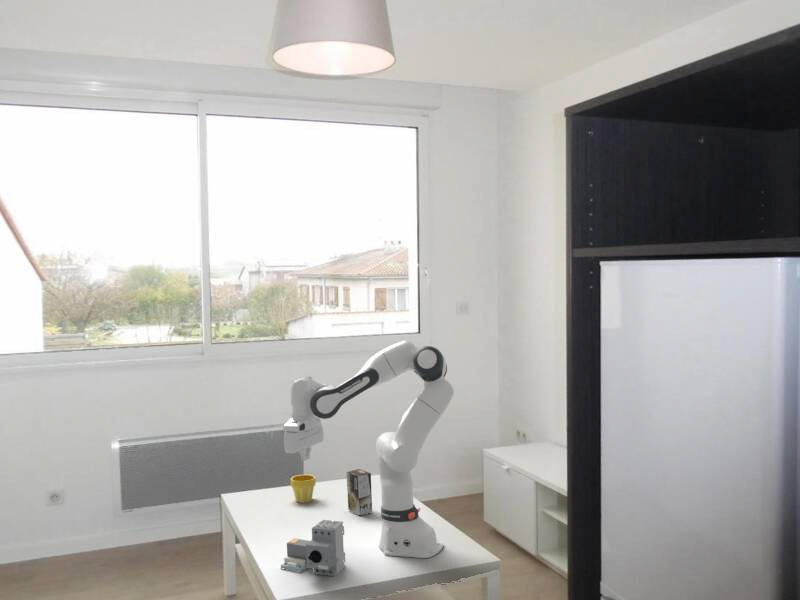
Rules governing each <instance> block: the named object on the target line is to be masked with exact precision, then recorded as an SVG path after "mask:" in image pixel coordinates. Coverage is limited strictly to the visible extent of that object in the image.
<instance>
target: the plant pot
mask: <svg viewBox="0 0 800 600" xmlns="http://www.w3.org/2000/svg"><path fill="white" fill-rule="evenodd" d="M315 486H316V476H315V475H313V474H298V475H294V476H292V477H291V478H290V487H291V488H292V490H293V494H294V498H295V501H296V503H300V504H301V503H303V504H304V503H309V502H312V500H313V496H314V495H313V494H314V487H315Z"/></svg>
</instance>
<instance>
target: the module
mask: <svg viewBox="0 0 800 600" xmlns="http://www.w3.org/2000/svg"><path fill="white" fill-rule="evenodd" d="M310 541H311V540H306V539H300V538H294V537H293V538H292V539H291V540H290V541H288V542H286V553H287V554H286V556H287V557H293V558H298V559H304V560H305V562H306V544H307V543H308V542H310ZM306 564H307V563H306Z"/></svg>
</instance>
